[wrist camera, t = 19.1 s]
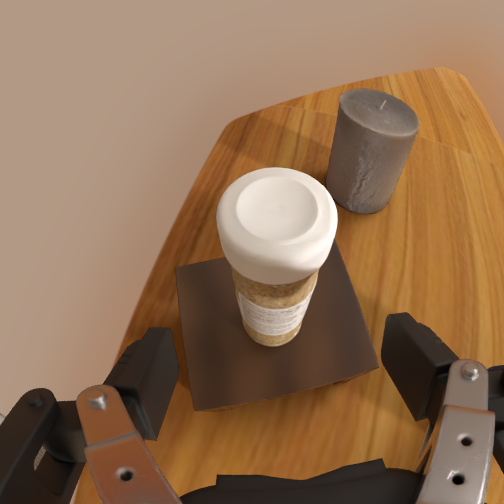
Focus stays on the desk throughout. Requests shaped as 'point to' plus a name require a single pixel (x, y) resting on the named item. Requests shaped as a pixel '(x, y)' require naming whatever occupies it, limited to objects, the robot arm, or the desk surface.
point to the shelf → (261, 356)
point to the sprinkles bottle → (275, 247)
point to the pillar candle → (369, 149)
